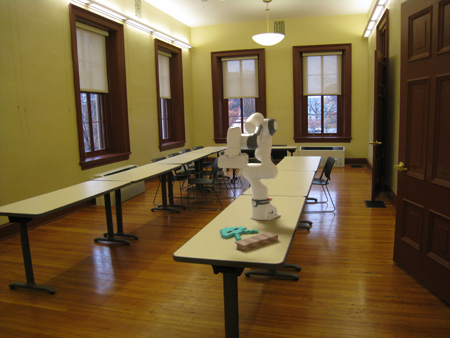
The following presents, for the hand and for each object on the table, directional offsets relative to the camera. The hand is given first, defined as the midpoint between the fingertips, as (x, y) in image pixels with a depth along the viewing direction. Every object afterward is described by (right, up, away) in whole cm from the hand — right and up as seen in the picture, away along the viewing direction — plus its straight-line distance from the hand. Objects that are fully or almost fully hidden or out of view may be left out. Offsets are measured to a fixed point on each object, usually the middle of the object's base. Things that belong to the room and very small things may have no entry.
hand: (232, 175), depth 221 cm
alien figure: (+2, -37, +5) cm, 37 cm away
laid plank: (+14, -39, -14) cm, 44 cm away
